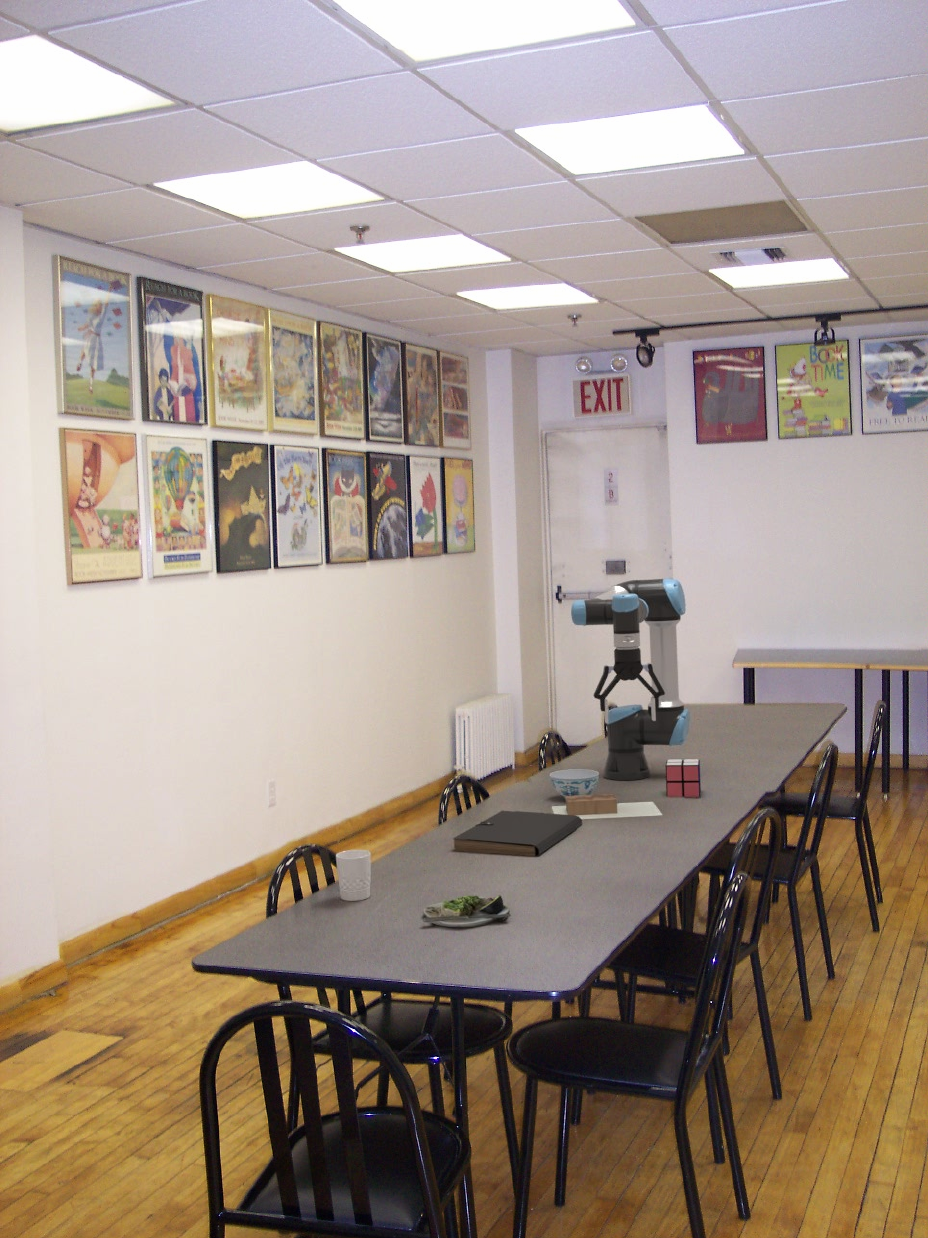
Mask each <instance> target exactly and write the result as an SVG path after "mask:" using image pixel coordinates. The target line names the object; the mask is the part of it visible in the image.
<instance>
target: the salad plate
mask: <svg viewBox="0 0 928 1238" xmlns="http://www.w3.org/2000/svg"><path fill="white" fill-rule="evenodd" d="M510 912H511V911H510V908H509V907H507V906H506V905H504V900H503V898H502V895H500V894H499V895H496V896H495V897H486V896H479V895H474V894H472V895H463V896H462V897H461V896H459V897H456V898H455V899H450V900H445V901H444V902H438V903H433V904H429V905H427V906H425V908H424V910H423V911H422V914H423V915H424V916H425V917H423V918H422V922H423V923H429V924H435V925H436V926H439V927H448V928H458V929H461V928H465V929H466V928H474V927H478V926H482V925H484V926H485V925H488V924H493V923H494V924H495V923H497V922H501V921H503V920H505V919H506V918H508V917H510V916H511V914H510ZM439 915H440V916H439Z"/></svg>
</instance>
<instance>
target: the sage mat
mask: <svg viewBox="0 0 928 1238" xmlns="http://www.w3.org/2000/svg"><path fill="white" fill-rule="evenodd" d="M551 810H552V812H553V813H552V814H563V815H568V813H567V810H566V805H557V806H556V805H552V806H551ZM575 816H578V817H580V818H581V819H582V820H591V819H594V820H597V819H614V818H615V819H616V818H632V817H633V818H634V817H636V818H637V817H639V818H640V817H654V816H656V817H657V816H663V813H662V812H661V811H660V809H659V808H658V806H657V805H656V804H655V802H654V801H639V802H638V801H637V802H619V803H618V802H617V813H613V814H592V815H575Z"/></svg>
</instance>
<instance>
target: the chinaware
mask: <svg viewBox="0 0 928 1238" xmlns="http://www.w3.org/2000/svg"><path fill="white" fill-rule="evenodd" d="M599 776H600V773H599V771H597V770H593V769H585V768H584V769H583V768H574V769H573V768H571V769H562V770H556V771H553V772H550V773H549V778H550V781H551V784H552V787H553V788H554V790H555V791H556V792H557V793H558V794H560V796H562V797H563V799H565V800H566V796H576V795H591V793H592V792H593V791H594V789H595V788H596V786H597V784H598V781H599Z"/></svg>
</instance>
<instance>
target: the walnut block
mask: <svg viewBox="0 0 928 1238" xmlns="http://www.w3.org/2000/svg"><path fill="white" fill-rule="evenodd" d="M617 803H618V799H617V797H616V796H615V793H602V794H601V793H600V794H598V793H597V794H588V795H576V796H566V799H565V806H566V810H567V813H568V815H592V814H613V813H617Z"/></svg>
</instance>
